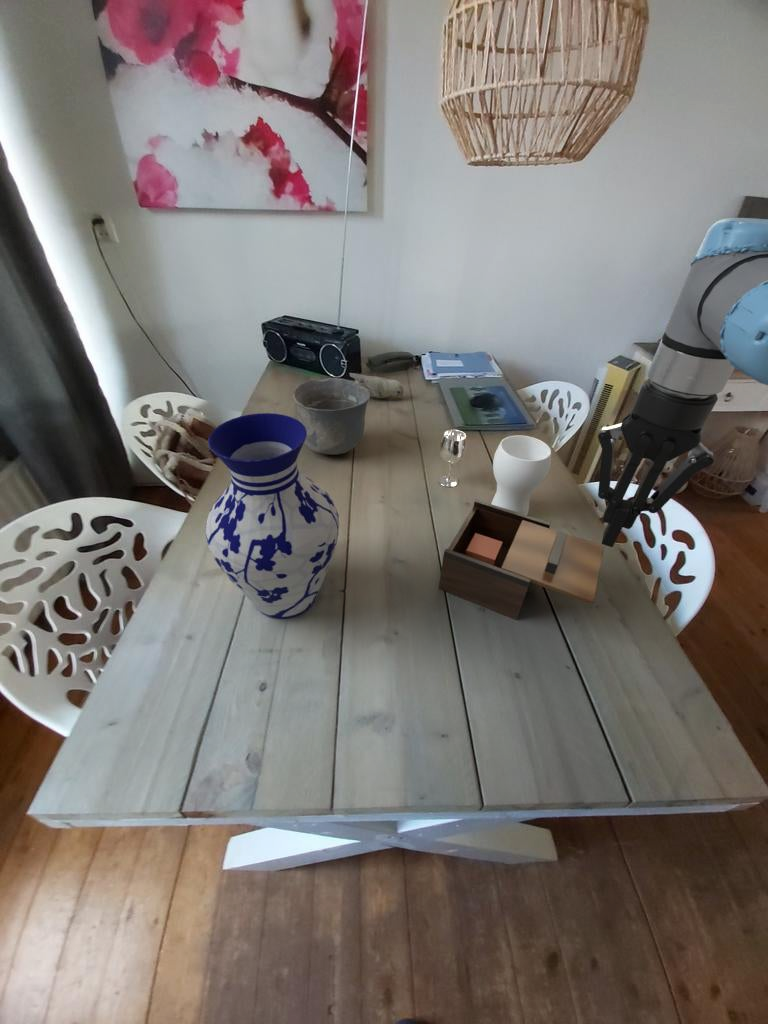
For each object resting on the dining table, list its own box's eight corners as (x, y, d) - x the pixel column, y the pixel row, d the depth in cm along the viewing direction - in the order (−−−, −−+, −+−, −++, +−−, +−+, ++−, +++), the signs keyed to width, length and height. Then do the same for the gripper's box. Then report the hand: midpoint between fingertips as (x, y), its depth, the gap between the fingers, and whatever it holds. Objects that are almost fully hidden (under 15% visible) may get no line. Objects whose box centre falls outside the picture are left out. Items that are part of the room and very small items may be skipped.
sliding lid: (592, 605, 63) (598, 592, 62) (500, 571, 68) (503, 558, 66) (603, 549, 73) (608, 536, 71) (521, 523, 77) (524, 510, 76)
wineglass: (432, 484, 99) (437, 437, 92) (440, 472, 103) (446, 426, 96) (456, 491, 97) (464, 444, 90) (464, 478, 101) (471, 432, 94)
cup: (505, 488, 99) (519, 428, 89) (545, 511, 93) (565, 450, 83) (473, 506, 93) (485, 444, 84) (514, 532, 87) (531, 469, 78)
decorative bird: (402, 403, 131) (403, 379, 126) (348, 400, 132) (348, 376, 127) (403, 396, 135) (404, 372, 130) (351, 393, 136) (350, 369, 131)
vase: (272, 664, 64) (231, 500, 45) (205, 592, 74) (149, 433, 55) (366, 592, 74) (365, 436, 55) (297, 538, 84) (276, 390, 65)
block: (489, 580, 76) (495, 560, 73) (462, 570, 78) (466, 550, 75) (497, 562, 80) (502, 541, 76) (471, 552, 81) (475, 532, 78)
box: (516, 620, 71) (529, 582, 65) (438, 588, 75) (444, 551, 70) (538, 559, 82) (551, 522, 76) (468, 535, 86) (475, 499, 81)
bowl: (375, 435, 116) (376, 380, 106) (363, 472, 102) (363, 413, 93) (310, 429, 118) (305, 374, 108) (289, 464, 104) (281, 405, 95)
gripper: (746, 385, 49) (658, 539, 64) (622, 363, 54) (566, 511, 69) (754, 412, 44) (656, 572, 59) (615, 384, 49) (557, 540, 64)
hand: (608, 539), depth 64 cm, fingers closed
